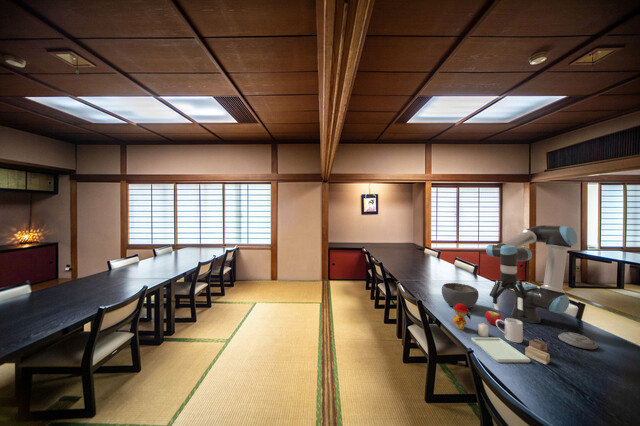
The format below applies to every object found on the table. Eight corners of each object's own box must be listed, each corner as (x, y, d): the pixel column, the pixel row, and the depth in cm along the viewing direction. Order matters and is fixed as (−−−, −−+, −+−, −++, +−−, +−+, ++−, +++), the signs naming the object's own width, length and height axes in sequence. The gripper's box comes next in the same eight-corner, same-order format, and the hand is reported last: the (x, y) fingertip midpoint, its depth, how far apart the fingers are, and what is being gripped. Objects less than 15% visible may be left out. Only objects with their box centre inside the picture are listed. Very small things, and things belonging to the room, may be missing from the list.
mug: (520, 337, 139) (520, 319, 139) (524, 344, 132) (524, 325, 132) (494, 332, 144) (494, 315, 144) (497, 339, 137) (497, 320, 137)
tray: (499, 340, 136) (499, 337, 136) (530, 362, 116) (530, 359, 116) (471, 340, 136) (471, 337, 136) (497, 362, 116) (497, 359, 116)
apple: (482, 320, 161) (482, 305, 161) (497, 321, 159) (497, 306, 159) (488, 326, 153) (488, 310, 153) (504, 327, 151) (504, 311, 151)
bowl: (478, 304, 189) (478, 285, 189) (478, 315, 168) (478, 294, 168) (443, 298, 202) (443, 280, 202) (439, 308, 181) (440, 288, 181)
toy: (472, 332, 144) (472, 307, 144) (456, 331, 146) (456, 306, 146) (465, 324, 155) (465, 301, 155) (450, 322, 157) (450, 299, 157)
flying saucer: (592, 354, 123) (592, 343, 123) (553, 340, 136) (553, 331, 136) (602, 347, 130) (602, 336, 130) (564, 334, 143) (564, 325, 143)
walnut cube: (536, 348, 128) (536, 339, 128) (547, 353, 123) (547, 344, 123) (529, 349, 127) (529, 340, 127) (540, 355, 122) (540, 345, 122)
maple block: (528, 353, 123) (529, 346, 123) (549, 362, 116) (549, 354, 116) (525, 355, 121) (525, 348, 121) (545, 364, 114) (545, 356, 114)
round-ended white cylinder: (484, 332, 144) (484, 322, 144) (490, 337, 139) (490, 326, 139) (476, 332, 144) (476, 322, 144) (481, 337, 139) (481, 326, 139)
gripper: (524, 271, 142) (524, 306, 142) (482, 270, 142) (482, 306, 142) (536, 274, 134) (535, 312, 134) (491, 274, 134) (491, 311, 134)
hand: (508, 309), depth 138 cm, fingers open, 13 cm apart
